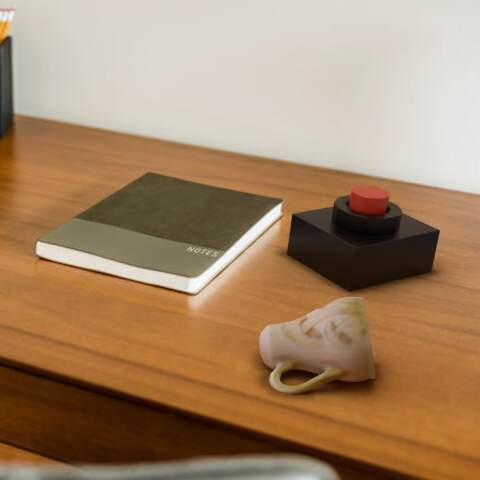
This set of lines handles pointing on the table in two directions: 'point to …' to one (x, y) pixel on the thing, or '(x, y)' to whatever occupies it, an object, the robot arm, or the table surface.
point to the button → (369, 199)
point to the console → (362, 244)
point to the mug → (321, 346)
